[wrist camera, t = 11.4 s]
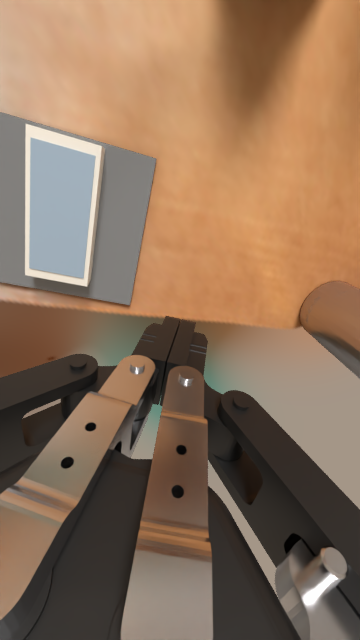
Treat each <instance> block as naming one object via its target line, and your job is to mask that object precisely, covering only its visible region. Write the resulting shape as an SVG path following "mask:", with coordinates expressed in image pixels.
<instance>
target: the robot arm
mask: <svg viewBox="0 0 360 640" xmlns="http://www.w3.org/2000/svg"><path fill="white" fill-rule="evenodd" d="M300 321H301V324H302V326H303V328H304V329H305V330H306V331H307V332H308V333H309V334H310V335H312V336H313V337H314V338H315V339H316V340H317V341H318V342H319V343H321V345H323V346H324V347H325V348H326V349H327V350H328V351H329V352H330V353H332V354H333V355H334V356H335V357H336V358H337V359H338V360H339V361H340V362H342V363H343V364H344V365H345V366H346V367H347V368H348V369H349V370H350V371H352V372H353V373H354V374H355V375H356V376H357V377H358V378H360V289H358V288H356V287H354V286H352V285H350V284H348V283H345V282H341V281H333V282H329V283H326V284H323V285H321V286H320V287H318V288H316V289H315V290H314V291H313V292H312V293H311V294H310V295H309V296H308V297H307V298H306V300H305V302H304V303H303V305H302V308H301V312H300ZM195 324H196V322H192V321H187V320H183V319H182V320H181V322H180V319H178V318H174V317H169V316H166V317H165V319H164V322H163V324H162V325H160V324H155V323H153V324H151V325H150V326H148V327H147V328H146V330H145V331H144V333H143V335H142V337H141V339H140V340H139V342H138V344H137V346H136V348H135V350H134V351H133V353H132V355H131V356H128V357H125V358H124V359H122V360H121V362H120V363H119V364H118V365H117V366H98V363H97V361H96V359H95V358H93V357H92V356H89V355H86V354H75V355H70V356H67V357H64V358H61V359H58V360H55V361H52V362H48V363H45V364H42V365H39V366H36V367H33V368H30V369H27V370H24V371H20V372H17V373H14V374H11V375H8V376H5V377H2V378H0V640H360V510H359V509H358V507H357V506H356V505H355V504H354V503H353V502H352V501H351V500H350V499H349V498H348V497H347V496H346V495H345V494H344V493H343V492H342V491H341V490H340V489H339V488H338V487H337V485H336V484H335V483H334V482H333V481H332V480H331V479H330V478H329V477H328V476H327V475H326V474H325V473H324V472H323V471H322V470H321V469H320V468H319V467H318V466H317V464H316V463H315V462H314V461H313V460H312V459H311V458H310V457H309V456H308V455H307V454H306V453H305V452H304V451H303V450H302V449H301V448H300V447H299V445H298V444H296V442H295V441H294V440H293V439H292V438H291V437H290V436H289V435H288V434H287V433H286V432H285V431H284V430H283V429H282V428H281V427H280V426H279V424H277V422H276V421H275V420H274V419H273V418H272V417H271V416H270V415H269V414H268V413H267V412H266V411H265V410H264V409H263V408H262V407H261V406H260V405H259V404H258V402H257V401H255V400H254V398H253V397H251V396H250V395H248V394H246V393H244V392H241V391H236V390H233V391H228V392H226V393H224V394H220V393H219V392H217V391H215V390H213V389H212V388H210V387H209V386H208V385H207V383H206V382H205V380H204V377H203V374H204V366H205V358H206V350H207V343H208V341H207V339H206V337H205V335H204V334H200V333H196V332H194V328H195ZM161 395H162V396H161ZM60 398H61V403H59V404H56V405H54V406H52V407H49V408H47V409H45V410H43V411H40V412H38V413H35V414H33V415H31V416H28V417H26V418H23V416H24V415H25V414H26V413H28V412H29V411H31V410H33V409H35V408H38V407H41V406H43V405H45V404H48V403H50V402H53V401H55V400H57V399H60ZM160 398H161V401H160ZM159 401H160V405H161V406H162V412H161V416H160V422H159V427H158V432H157V438H156V443H155V449H154V454H153V459H131V456H132V453H133V451H134V449H135V446H136V444H137V442H138V440H139V437H140V435H141V433H142V431H143V428H144V426H145V424H146V422H147V419H148V414H149V412H150V410H151V407H152V404H157V405H158V404H159ZM22 418H23V419H22ZM208 460H209V462H210V463H211V465H212V466H213V468H214V469H215V471H216V473H217V474H218V476H219V478H220V479H221V481H222V482H223V484H224V485H225V487H226V489H227V490H228V492H229V493H230V495H231V497H232V498H233V500H234V501H235V503H236V504H237V506H238V508H239V509H240V511H241V512H242V514H243V516H244V517H245V519H246V520H247V522H248V524H249V525H250V527H251V528H252V530H253V531H254V533H255V535H256V536H257V538H258V539H259V541H260V542H261V544H262V546H263V547H264V549H265V551H266V552H267V554H268V555H269V557H270V558H271V560H272V562H273V563H274V565H275V566H276V568H277V569H276V573H275V586H276V592H277V595H278V597H277V595H276V594H275V592H274V590H273V588H272V586H271V585H270V583H269V581H268V580H267V578H266V576H265V574H264V572H263V571H262V569H261V567H260V565H259V563H258V562H257V560H256V558H255V556H254V554H253V553H252V551H251V549H250V547H249V546H248V544H247V542H246V540H245V539H244V537H243V535H242V533H241V531H240V530H239V528H238V526H237V524H236V522H235V521H234V519H233V517H232V515H231V513H230V512H229V510H228V508H227V507H226V505H225V504H224V503H223V501H222V500H221V498H220V497H219V496H218V495H217V494H216V493H215V492H214V491H213V490H212V489H211V488H210V487H209V486H208ZM278 598H279V599H278Z"/></svg>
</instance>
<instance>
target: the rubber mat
mask: <svg viewBox="0 0 360 640" xmlns="http://www.w3.org/2000/svg"><path fill="white" fill-rule="evenodd" d="M26 124H29V125H32V126H36V127H39V128H42V129H46V130H49V131H52V132H56V133H59V134H63V135H66V136H69V137H73V138H76V139H80V140H83V141H86V142H90V143H93V144H96V145H100V146H102V147H103V148H104V149H105V155H104V164H103V173H102V182H101V191H100V200H99V209H98V219H97V228H96V237H95V246H94V255H93V264H92V273H91V281H90V283H89V284H88V286H87V287H86V286H81V285H75V284H70V283H65V282H59V281H54V280H48V279H43V278H38V277H32V276H27V275H25V137H26ZM155 164H156V158H153V157H149V156H146V155H143V154H139V153H136V152H133V151H129V150H126V149H123V148H119V147H116V146H112V145H109V144H106V143H102V142H99V141H96V140H92V139H89V138H86V137H82V136H79V135H76V134H72V133H69V132H66V131H62V130H59V129H55V128H52V127H49V126H45V125H42V124H39V123H35V122H32V121H29V120H25V119H22V118H19V117H15V116H12V115H9V114H5V113H2V112H0V282H2V283H8V284H13V285H19V286H25V287H30V288H36V289H41V290H47V291H53V292H58V293H64V294H70V295H75V296H81V297H87V298H92V299H98V300H103V301H109V302H115V303H120V304H126V305H130V302H131V296H132V291H133V285H134V280H135V274H136V269H137V263H138V258H139V252H140V247H141V241H142V235H143V230H144V224H145V219H146V213H147V208H148V202H149V197H150V191H151V186H152V180H153V175H154V169H155Z"/></svg>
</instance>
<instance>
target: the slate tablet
mask: <svg viewBox="0 0 360 640" xmlns="http://www.w3.org/2000/svg"><path fill="white" fill-rule="evenodd" d="M104 155H105V149H104V148H103V147H102V146H100V145H96V144H93V143H90V142H86V141H83V140H80V139H76V138H73V137H69V136H66V135H63V134H59V133H56V132H52V131H49V130H46V129H42V128H39V127H36V126H32V125H29V124H26V137H25V275H27V276H32V277H38V278H43V279H48V280H54V281H59V282H65V283H70V284H75V285H81V286H86V287H87V286H88V284H89V283H90V281H91V273H92V264H93V255H94V246H95V237H96V228H97V219H98V209H99V200H100V191H101V182H102V173H103V164H104Z"/></svg>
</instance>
